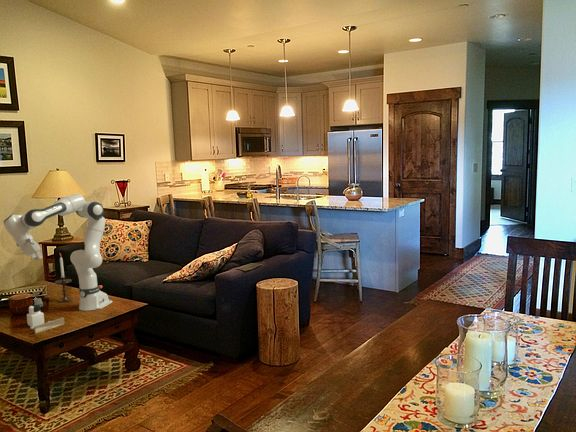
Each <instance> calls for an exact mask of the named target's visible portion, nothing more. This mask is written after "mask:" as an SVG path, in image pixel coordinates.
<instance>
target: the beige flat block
mask: <svg viewBox="0 0 576 432" xmlns="http://www.w3.org/2000/svg"><path fill="white" fill-rule="evenodd" d="M63 325H65V317H60V318H56V319H54V320H48V321H47V322H44V324H41V325H38V326H35V327H31V326H29V330H33V331H34V334H35V335H37V334H40V333H44V332H46V331H48V330H52V329H54V328H57V327H60V326H63Z"/></svg>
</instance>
